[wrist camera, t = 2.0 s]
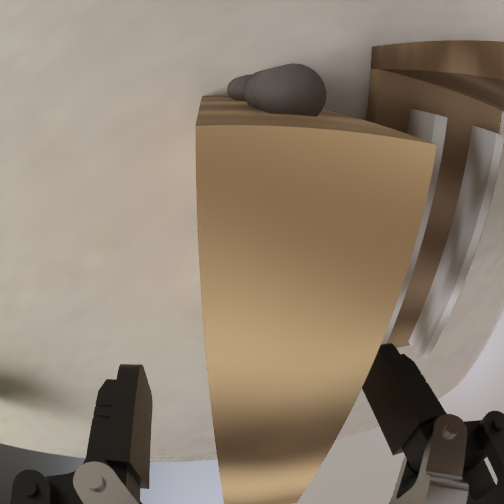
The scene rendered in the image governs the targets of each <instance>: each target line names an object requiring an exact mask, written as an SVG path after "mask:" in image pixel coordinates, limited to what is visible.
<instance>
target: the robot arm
mask: <svg viewBox="0 0 504 504" xmlns="http://www.w3.org/2000/svg"><path fill="white" fill-rule="evenodd" d="M362 389H363V391H364V393H365V395H366V397H367V400H368V402H369V404H370V406H371V408H372V410H373V412H374V414H375V417H376V419H377V421H378V423H379V425H380V427H381V430H382V432H383V434H384V436H385V438H386V440H387V443H388V445H389V447H390V449H391V452H392V454H393V455H395V454H398V453H402V452H404V454H405V456H406V457H405V458H404V460H403V463H402V466H401V470H400V473H399V476H398V480H397V483H396V486H395V489H394V492H393V496H392V498H391V501H390V503H389V504H504V414H503V413H501V412H499V411H491V412H489V413H488V414H487V415H486V416H485V417H484V418H483V419H482V420H479V421H468V422H463V420H462V419H460V418H459V417H457V416H455V415H452V414H447V413H446V412H445V411H444V409H443V408H442V406H441V404H440V402H439V401H438V399H437V398H436V396H435V394H434V393H433V391H432V389H431V388H430V386H429V385H428V383H426V380H425V378H424V377H423V375H421V372H420V370H419V369H418V367H417V366H416V364H415V363H414V362H413V361H412V360H411V359H410V358H408V357H407V356H406V355H405V354H401V355H400V353H399V352H398V350H397V349H396V347H395V346H394V345H393V344H392V343H387V344H381V345H380V348H379V350H378V352H377V355H376V357H375V360H374V362H373V364H372V366H371V369H370V371H369V373H368V375H367V378H366V380H365V382H364V384H363V386H362ZM151 421H152V395H151V390H150V387H149V384H148V381H147V377H146V374H145V371H144V367H143V365H129V364H121V365H120V366H119V370H118V375H117V380H111V379H107V380H106V381H105V382H104V384H103V385H102V387H101V388H100V389H99V391H98V395H97V400H96V407H95V410H94V418H93V420H92V426H91V431H90V437H89V443H88V449H87V455H86V459H85V461H84V463H83V464H82V465H81V466H80V467H79V468H78V469H77V470H76V471H74V472H72V473H69V474H63V475H56V476H47V477H45V476H44V475H42V474H41V473H40V472H38V471H35V470H24V471H22V472H20V473H19V474H18V475H17V476H16V477H15V479H14V481H13V487H12V494H11V502H10V504H142V503H141V501H140V488H147V489H149V469H150V467H149V466H150V440H151ZM486 457H488V459H489V461H490V463H491V465H492V467H493V470H494V472H495V474H496V476H497V479H498V482H497V485H496V484H495V483H494V481H493V478H492V476H491V474H490V472H489V470H488V468H487V466H486V464H485V461H484V459H485V458H486Z"/></svg>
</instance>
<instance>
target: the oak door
mask: <svg viewBox="0 0 504 504" xmlns="http://www.w3.org/2000/svg"><path fill="white" fill-rule="evenodd" d="M227 91H228V95H229V96H208V97H202V99H201V103H200V108H199V113H198V117H197V122H196V187H197V220H198V244H199V264H200V281H201V297H202V311H203V325H204V337H205V349H206V360H207V371H208V381H209V391H210V400H211V409H212V418H213V426H214V434H215V442H216V450H217V457H218V465H219V472H220V478H221V485H222V491H223V498H224V504H292V503H297V502H298V500H299V498H300V497H301V496H302V494H303V493H304V491H305V490H306V488H307V486H308V485H309V483H310V482H311V480H312V478H313V477H314V475H315V474H316V472H317V470H318V469H319V467H320V465H321V464H322V462H323V461H324V459H325V457H326V455H327V454H328V452H329V450H330V448H331V447H332V445H333V443H334V441H335V440H336V438H337V436H338V434H339V432H340V430H341V428H342V427H343V425H344V423H345V421H346V419H347V417H348V415H349V413H350V411H351V409H352V407H353V405H354V403H355V401H356V399H357V397H358V395H359V393H360V391H361V389H362V386H363V384H364V382H365V380H366V378H367V375H368V373H369V371H370V369H371V366H372V364H373V362H374V360H375V357H376V355H377V352H378V350H379V348H380V345H381V343H382V340H383V338H384V335H385V333H386V330H387V328H388V325H389V322H390V320H391V317H392V314H393V312H394V309H395V306H396V303H397V300H398V297H399V295H400V292H401V289H402V286H403V283H404V280H405V276H406V273H407V270H408V267H409V264H410V260H411V257H412V254H413V250H414V247H415V243H416V239H417V236H418V232H419V228H420V224H421V220H422V216H423V212H424V208H425V204H426V199H427V195H428V190H429V186H430V181H431V176H432V171H433V165H434V160H435V154H436V148H437V145H436V144H433V143H431V142H428V141H426V140H423V139H420V138H417V137H415V136H412V135H409V134H406V133H403V132H400V131H397V130H394V129H391V128H388V127H385V126H382V125H379V124H375V123H372V122H369V121H365V120H362V119H358V118H355V117H351V116H348V115H344V114H340V113H336V112H332V111H328V110H324V109H323V107H324V104H325V100H326V90H325V86H324V83H323V81H322V79H321V78H320V76H319V75H318V74H317V73H316V72H315V71H314V70H312V69H311V68H309V67H307V66H304V65H301V64H287V65H283V66H279V67H275V68H271V69H267V70H263V71H259V72H256V73H254V74H253V75H245V76H242V77H238V78H235V79H233V80H232V81H231V82H230V83H229V85H228V89H227Z"/></svg>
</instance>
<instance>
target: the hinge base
mask: <svg viewBox="0 0 504 504" xmlns="http://www.w3.org/2000/svg"><path fill="white" fill-rule="evenodd" d="M502 110H503V111H504V42H497V41H428V42H413V43H401V44H392V45H383V46H375V47H372V60H371V76H370V89H369V101H368V112H367V121H369V122H372V123H375V124H379V125H382V126H385V127H388V128H391V129H394V130H397V131H400V132H403V133H406V134H409V135H412V136H415V137H417V138H420V139H423V140H426V141H428V142H431V143H433V144H436V145H437V148H436V154H435V160H434V165H433V171H432V176H431V181H430V186H429V190H428V195H427V199H426V204H425V208H424V212H423V216H422V220H421V224H420V228H419V232H418V236H417V239H416V243H415V247H414V250H413V254H412V257H411V260H410V264H409V267H408V270H407V273H406V276H405V280H404V283H403V286H402V289H401V292H400V295H399V297H398V300H397V303H396V306H395V309H394V312H393V314H392V317H391V320H390V322H389V325H388V328H387V330H386V333H385V335H384V338H383V340H382V343H381V344H387V343H392V344H393V345H394V346H395V347H396V348H397V347H402V346H407V345H411V347H412V348H413V350H414V351H415V353H416V354H417V356H418V357H419V359H420V360H422V359H426V358H429V356H430V354H431V352H432V350H433V348H434V346H435V344H436V342H437V340H438V338H439V336H440V334H441V332H442V330H443V328H444V326H445V324H446V322H447V320H448V318H449V316H450V313H451V311H452V309H453V307H454V305H455V302H456V300H457V298H458V295H459V293H460V291H461V288H462V286H463V283H464V281H465V278H466V276H467V273H468V270H469V268H470V265H471V262H472V260H473V257H474V254H475V251H476V248H477V245H478V242H479V239H480V236H481V233H482V230H483V227H484V224H485V220H486V217H487V213H488V210H489V206H490V202H491V198H492V195H493V191H494V186H495V182H496V178H497V173H498V169H499V164H500V159H501V153H502V148H503V142H504V136H503V135H500V134H499V129H500V122H501V114H502Z"/></svg>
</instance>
